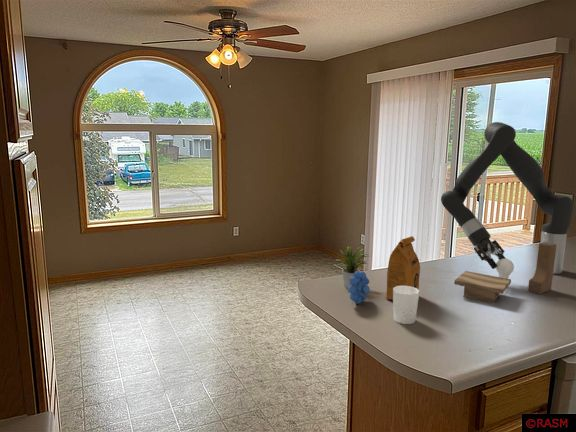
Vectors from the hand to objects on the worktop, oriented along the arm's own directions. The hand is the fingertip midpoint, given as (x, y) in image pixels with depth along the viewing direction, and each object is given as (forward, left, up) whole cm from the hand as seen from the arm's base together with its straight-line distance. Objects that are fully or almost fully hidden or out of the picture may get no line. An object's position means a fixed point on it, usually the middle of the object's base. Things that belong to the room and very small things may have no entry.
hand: (501, 265), depth 168 cm
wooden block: (-3, +14, -8) cm, 16 cm away
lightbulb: (0, +1, -8) cm, 8 cm away
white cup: (+54, -17, -8) cm, 57 cm away
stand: (+16, -3, -8) cm, 18 cm away
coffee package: (+36, -25, -8) cm, 45 cm away
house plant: (+38, -45, -8) cm, 59 cm away
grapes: (+51, -34, -8) cm, 62 cm away
